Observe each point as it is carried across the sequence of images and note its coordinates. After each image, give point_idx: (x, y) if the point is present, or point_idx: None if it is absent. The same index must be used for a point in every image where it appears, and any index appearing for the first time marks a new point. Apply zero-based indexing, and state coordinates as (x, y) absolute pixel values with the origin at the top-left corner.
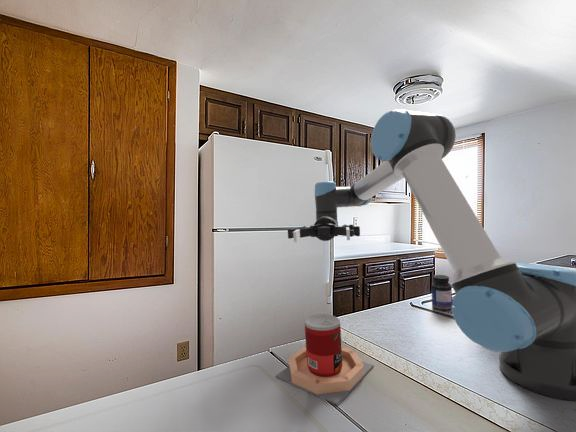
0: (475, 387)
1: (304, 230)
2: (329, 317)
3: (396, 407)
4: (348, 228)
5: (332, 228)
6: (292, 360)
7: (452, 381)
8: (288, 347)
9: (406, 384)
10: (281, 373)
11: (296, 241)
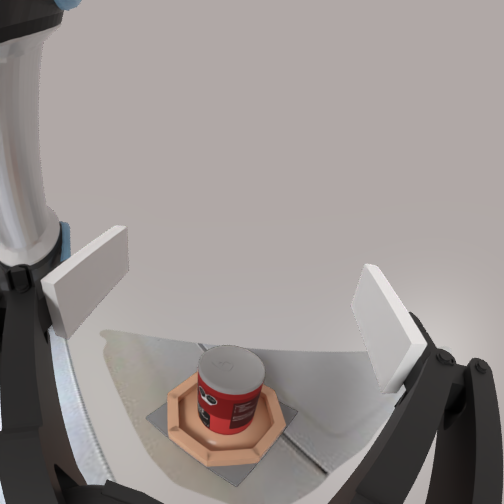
0: (61, 357)
1: (400, 412)
2: (215, 380)
3: (155, 355)
4: (93, 243)
5: (62, 491)
6: (278, 417)
7: (72, 369)
8: (296, 489)
9: (123, 379)
10: (290, 414)
11: (351, 303)
